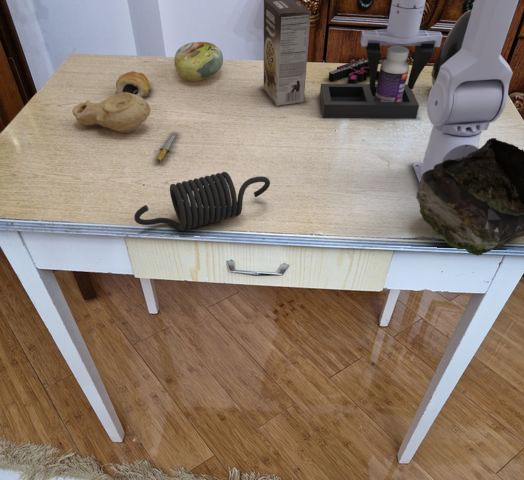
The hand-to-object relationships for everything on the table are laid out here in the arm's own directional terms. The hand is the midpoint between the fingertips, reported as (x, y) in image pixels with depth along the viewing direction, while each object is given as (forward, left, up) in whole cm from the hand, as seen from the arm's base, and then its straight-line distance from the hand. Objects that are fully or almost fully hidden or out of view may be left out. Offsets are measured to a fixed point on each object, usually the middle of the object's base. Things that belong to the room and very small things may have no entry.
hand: (390, 86), depth 92 cm
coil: (-35, +34, 0) cm, 49 cm away
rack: (0, +4, -4) cm, 6 cm away
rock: (-43, -7, +6) cm, 44 cm away
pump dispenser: (+6, -15, -4) cm, 16 cm away
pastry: (+6, +53, -4) cm, 54 cm away
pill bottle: (0, 0, -3) cm, 3 cm away
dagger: (-18, +44, -3) cm, 47 cm away
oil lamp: (-10, +53, -4) cm, 54 cm away
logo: (+18, +7, -3) cm, 20 cm away
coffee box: (+5, +21, -4) cm, 22 cm away
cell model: (+9, +39, -4) cm, 40 cm away
